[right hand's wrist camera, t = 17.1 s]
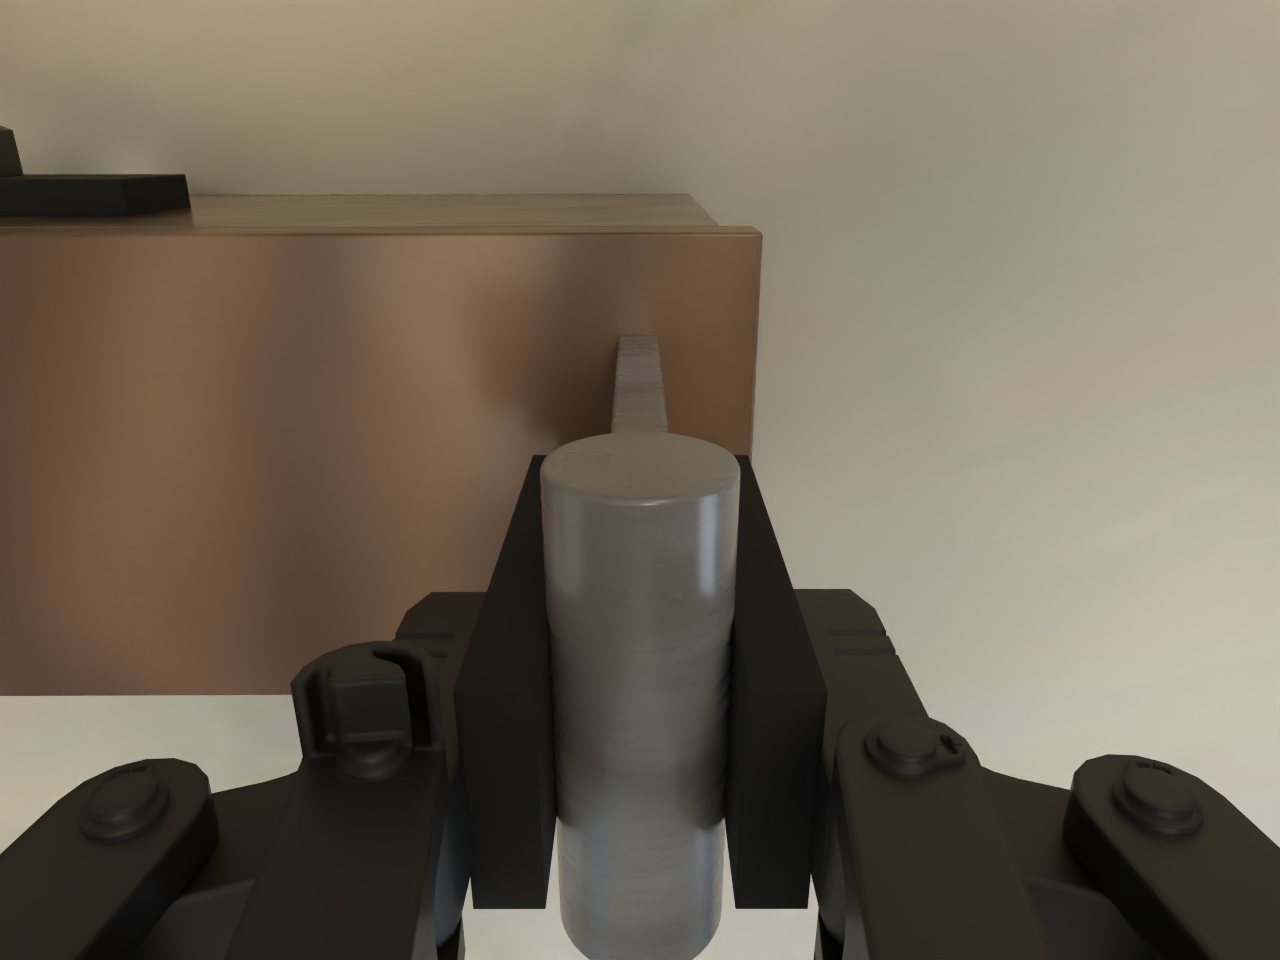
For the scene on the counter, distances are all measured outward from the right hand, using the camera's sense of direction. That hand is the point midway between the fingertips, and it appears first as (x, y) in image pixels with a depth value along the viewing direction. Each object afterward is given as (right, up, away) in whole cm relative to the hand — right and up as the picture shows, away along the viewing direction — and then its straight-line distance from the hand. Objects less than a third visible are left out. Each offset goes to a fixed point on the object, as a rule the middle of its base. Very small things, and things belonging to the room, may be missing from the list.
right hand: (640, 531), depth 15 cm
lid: (-6, +1, +3) cm, 7 cm away
